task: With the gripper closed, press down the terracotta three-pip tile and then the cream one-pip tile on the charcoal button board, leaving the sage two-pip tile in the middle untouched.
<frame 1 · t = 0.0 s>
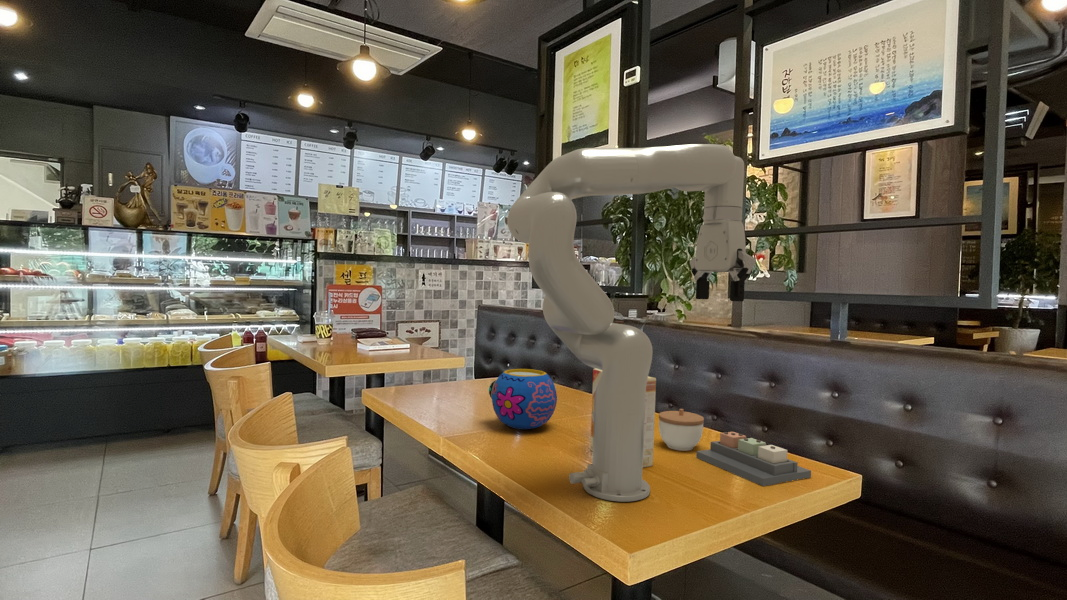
hand: (718, 300, 115), 37 cm above the table, tool pointing down, fingers open, 9 cm apart
tile three: (733, 439, 126), point 5 cm above the table, slide at 0.0 cm
board: (751, 467, 122), on the table
ceramic pot: (523, 428, 149), on the table
tile one: (772, 453, 117), point 5 cm above the table, slide at 0.0 cm
wine bottle: (614, 438, 141), on the table
lidded jar: (679, 447, 135), on the table
coffeecake box: (620, 458, 125), on the table
tile two: (752, 445, 121), point 5 cm above the table, slide at 0.0 cm
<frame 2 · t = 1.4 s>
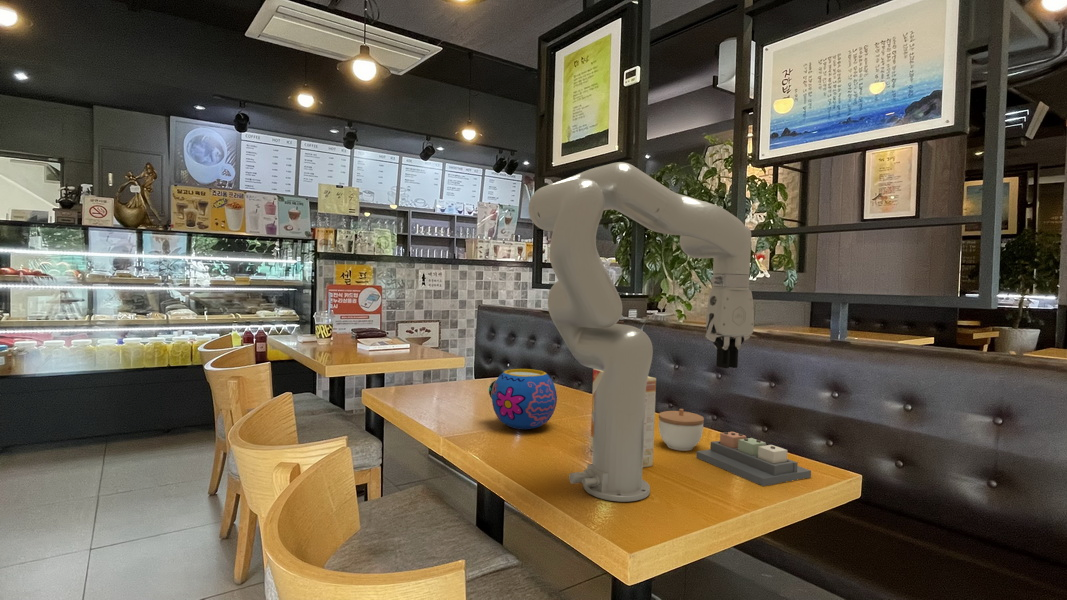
hand: (726, 366, 121), 22 cm above the table, tool pointing down, fingers closed
nothing on the table moved.
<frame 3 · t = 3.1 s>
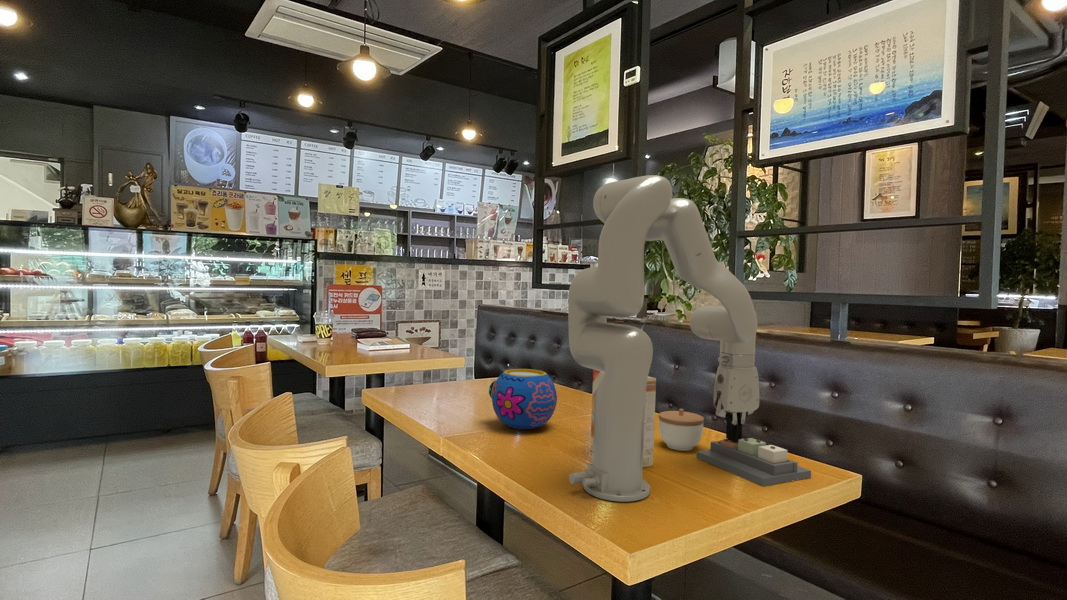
hand: (733, 440, 127), 4 cm above the table, tool pointing down, fingers closed
tile three: (732, 446, 126), point 3 cm above the table, slide at 1.7 cm, touching gripper
everything else where it was.
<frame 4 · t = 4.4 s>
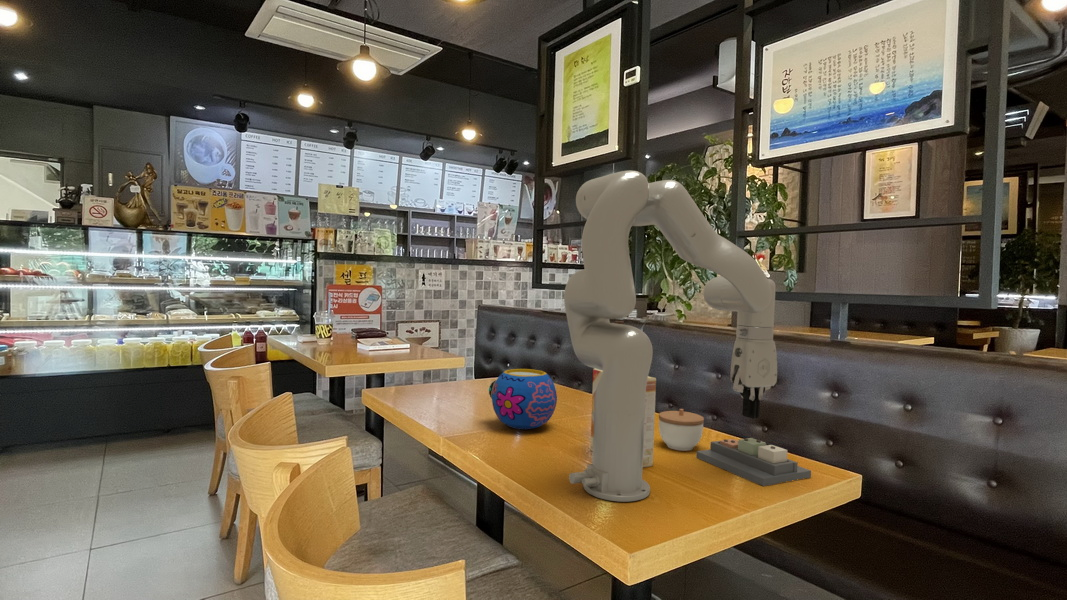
hand: (750, 416, 122), 11 cm above the table, tool pointing down, fingers closed
tile three: (732, 446, 126), point 3 cm above the table, slide at 1.7 cm
everything else where it was.
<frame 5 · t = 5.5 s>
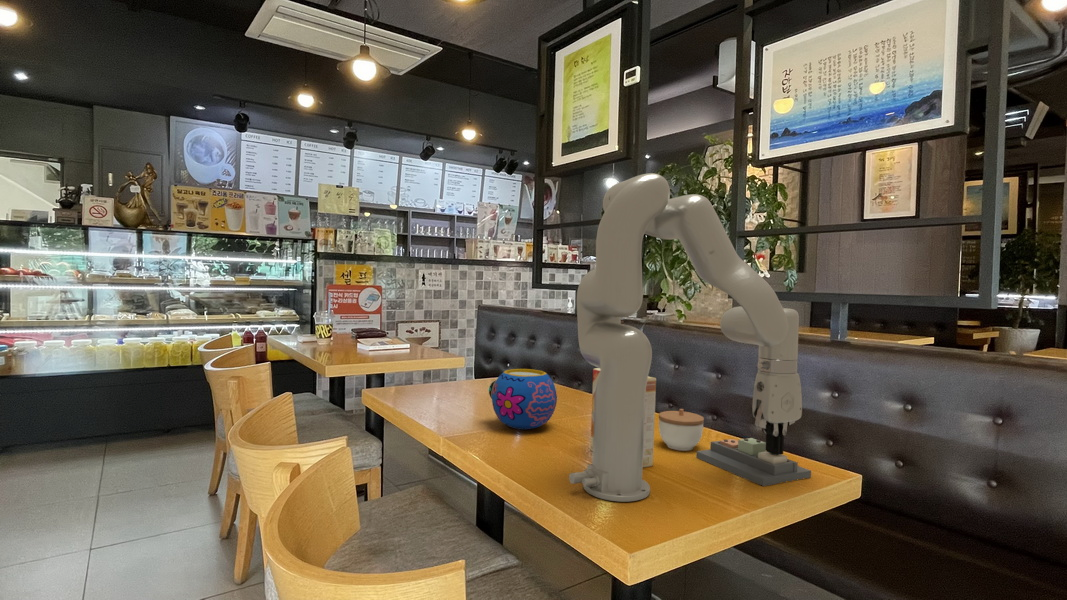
hand: (774, 452, 117), 5 cm above the table, tool pointing down, fingers closed
tile one: (772, 459, 117), point 3 cm above the table, slide at 1.3 cm
everything else where it was.
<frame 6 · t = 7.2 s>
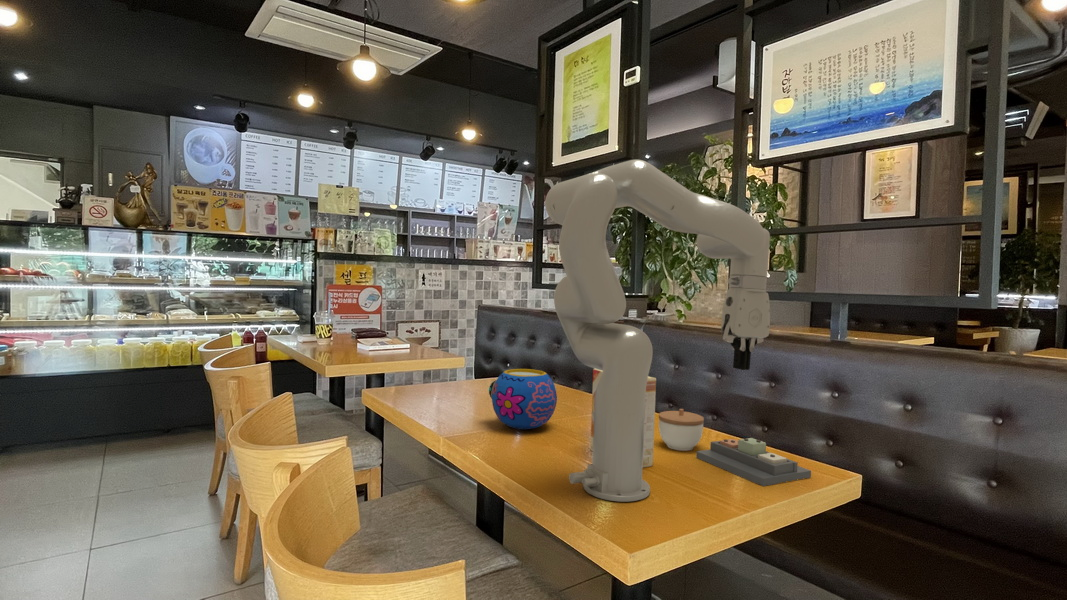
hand: (741, 368, 120), 22 cm above the table, tool pointing down, fingers closed
tile one: (772, 461, 117), point 3 cm above the table, slide at 1.7 cm
everything else where it was.
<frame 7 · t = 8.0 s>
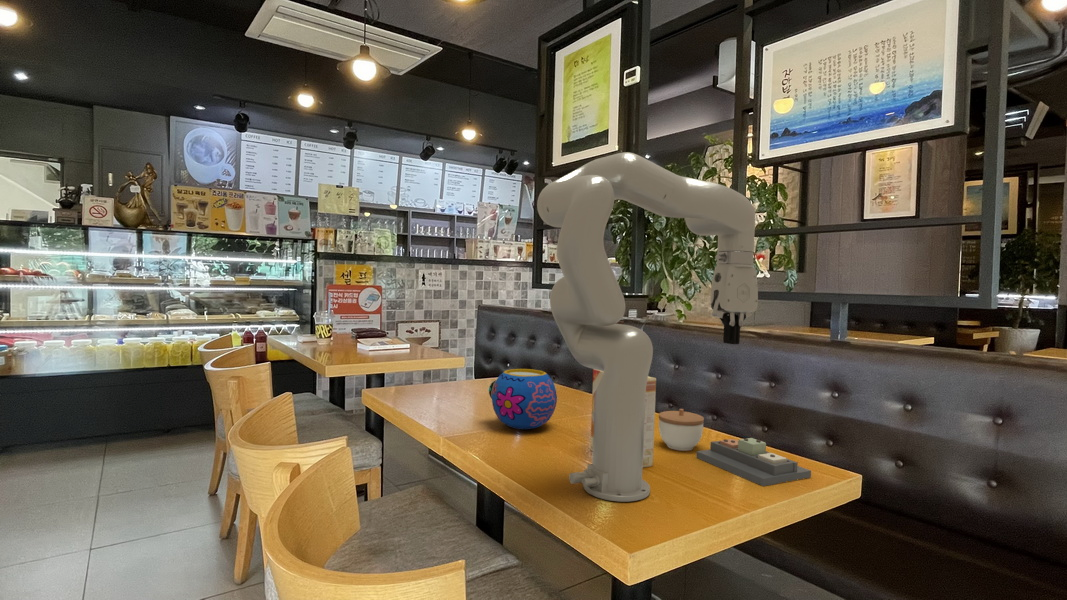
hand: (731, 343, 122), 27 cm above the table, tool pointing down, fingers closed
nothing on the table moved.
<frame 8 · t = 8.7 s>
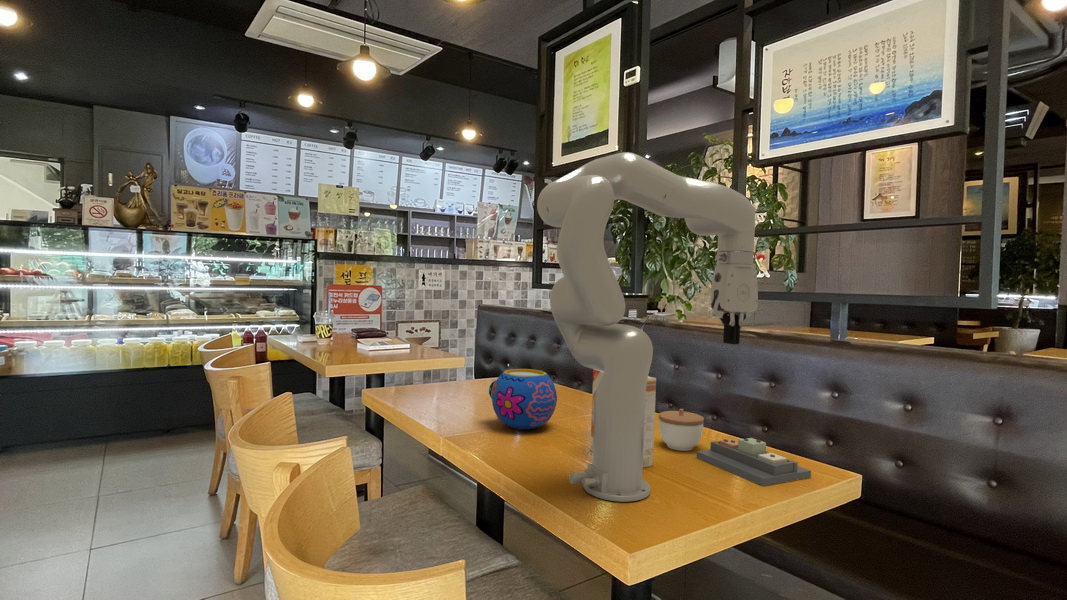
hand: (731, 343, 122), 27 cm above the table, tool pointing down, fingers closed
nothing on the table moved.
at the end: tile three resting on board; tile one resting on board; tile two resting on board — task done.
